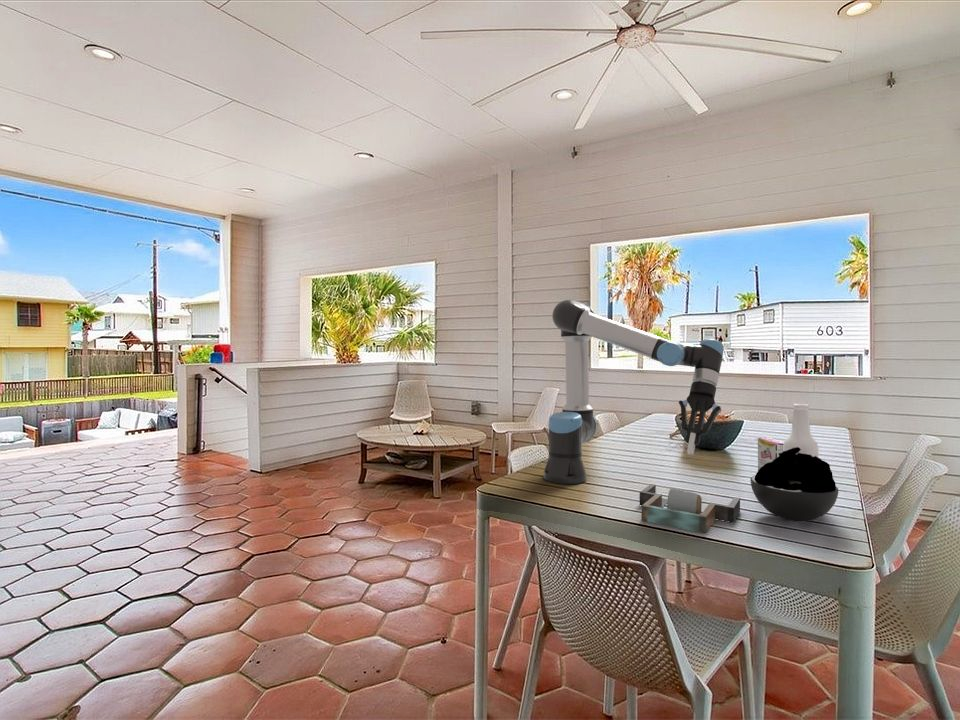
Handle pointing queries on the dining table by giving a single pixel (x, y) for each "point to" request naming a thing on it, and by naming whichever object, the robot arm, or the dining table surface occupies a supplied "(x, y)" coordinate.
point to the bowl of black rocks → (795, 486)
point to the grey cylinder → (684, 501)
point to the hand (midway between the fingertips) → (690, 453)
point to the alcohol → (801, 432)
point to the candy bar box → (768, 450)
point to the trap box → (681, 519)
